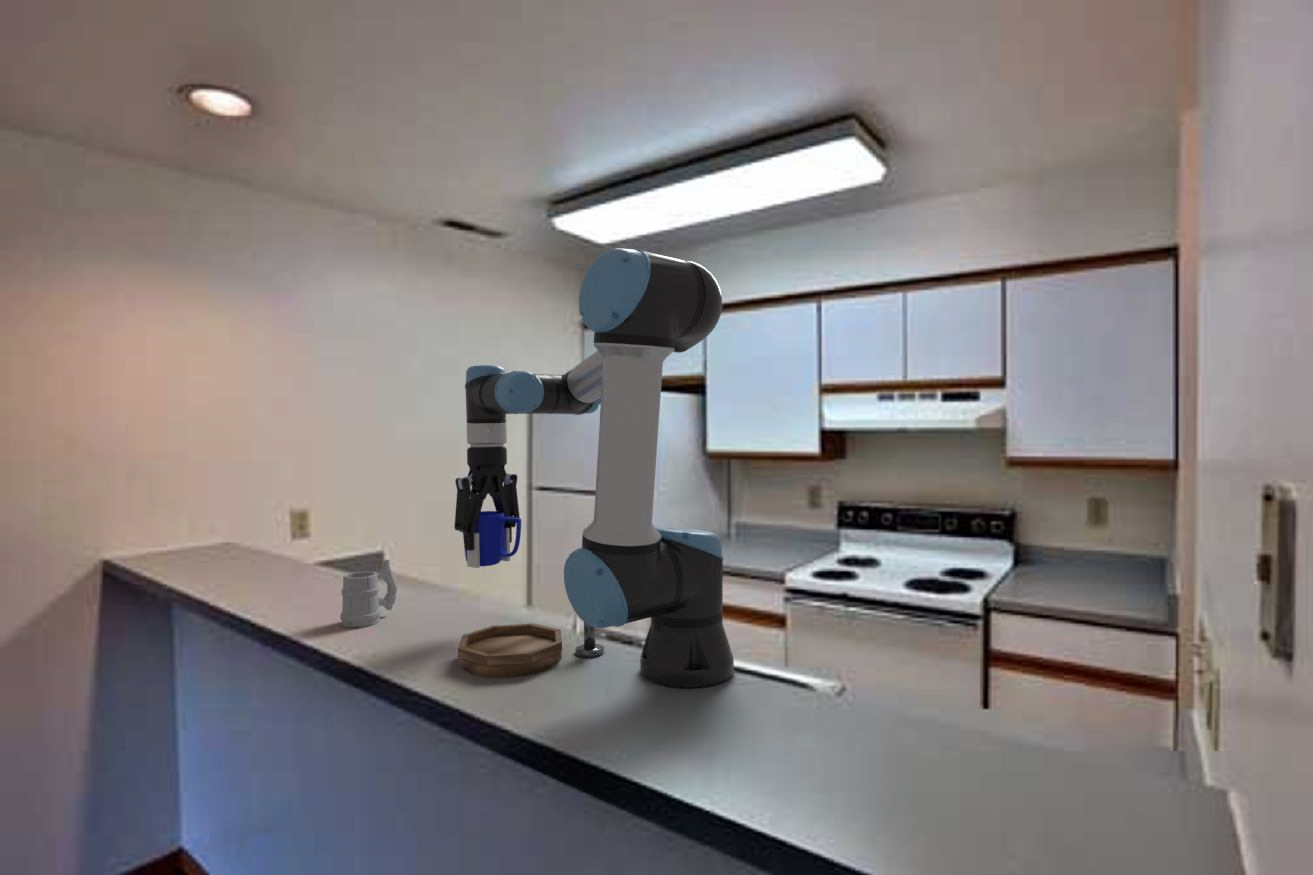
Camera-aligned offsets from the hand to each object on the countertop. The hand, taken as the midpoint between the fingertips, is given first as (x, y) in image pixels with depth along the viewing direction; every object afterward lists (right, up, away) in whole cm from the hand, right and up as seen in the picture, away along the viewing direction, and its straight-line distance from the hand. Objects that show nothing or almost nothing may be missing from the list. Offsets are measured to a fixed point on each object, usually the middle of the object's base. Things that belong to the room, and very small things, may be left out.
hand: (489, 563), depth 134 cm
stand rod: (+21, -13, -13) cm, 28 cm away
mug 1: (-26, -13, +8) cm, 31 cm away
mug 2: (+1, 0, 0) cm, 1 cm away
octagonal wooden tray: (+8, -13, -16) cm, 22 cm away
